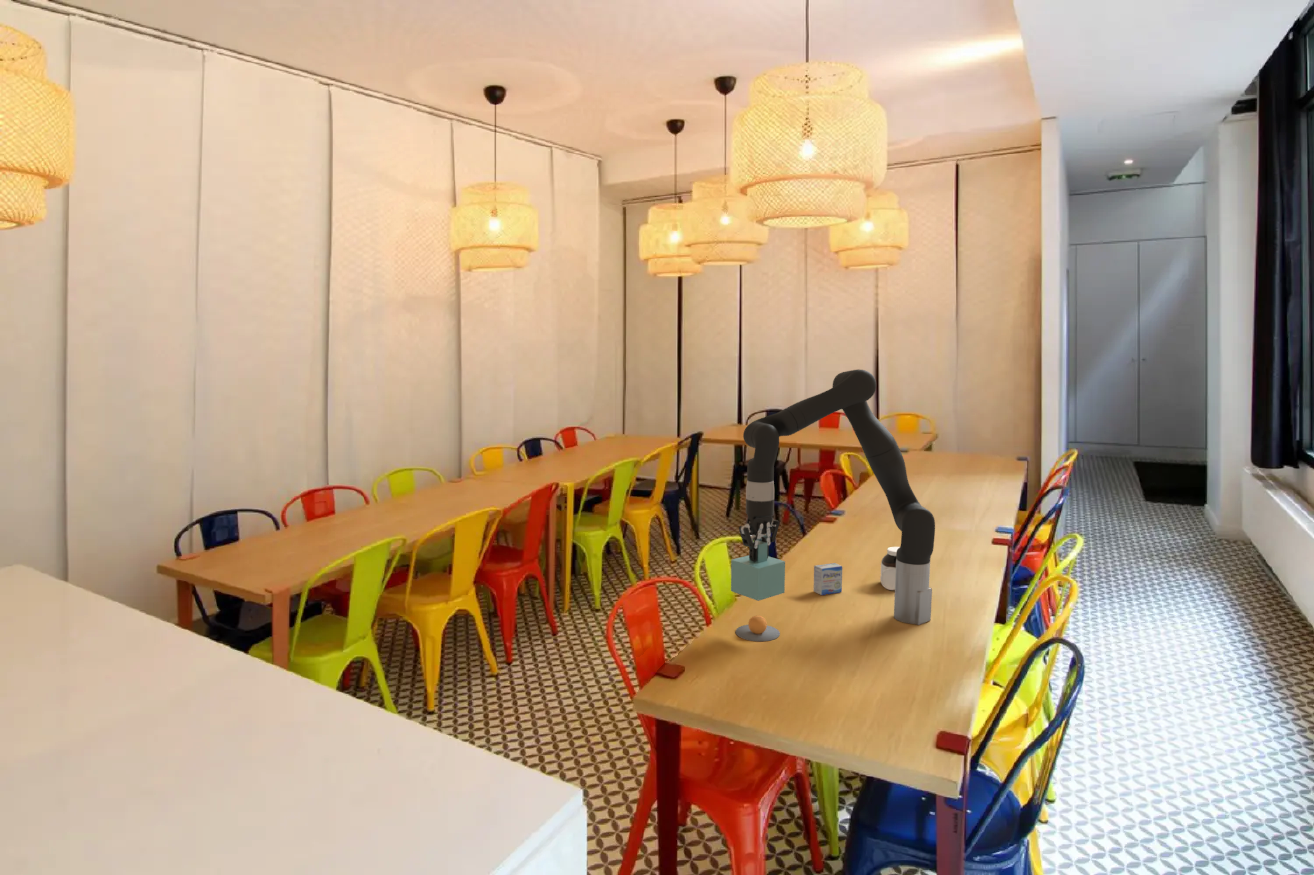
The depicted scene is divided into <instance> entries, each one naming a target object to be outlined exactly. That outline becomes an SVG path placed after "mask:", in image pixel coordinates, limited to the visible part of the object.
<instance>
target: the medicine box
mask: <svg viewBox="0 0 1314 875" xmlns="http://www.w3.org/2000/svg"><path fill="white" fill-rule="evenodd" d="M842 590H843V566H842V565H840V564H838V563H837V562H834V563H825V564H816V565H813V592H814V593H816V594H818V595H820V596H827V595H826V594H828V595H833V594H840V592H841V593H842V592H843V591H842Z"/></svg>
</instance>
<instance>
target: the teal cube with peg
mask: <svg viewBox="0 0 1314 875" xmlns="http://www.w3.org/2000/svg"><path fill="white" fill-rule="evenodd" d="M753 543H754V540H753ZM767 544H768V543H766V542H763V541H761V540H759V541H758V547H757V548H758V560H757V561H756V562H754V561H751V560H750V558H749V554H748V555H745V556H741V557H736V558H732V559H731V562H730V566H731V567H730V568H731V570H730V575H731V576H730V591H731V592H732V593H736V594H739V595H741V596H743V597H747V598H749V599H752V600H755V601H762V600H766V599H768V598H772V597H776V596H779V595H782V594H785V591H786V590H785V588H786V587H785V585H786V584H785V583H786V582H785V580H786V561H784V560H781V559H779V558H775V557H771V556H770V555H768V558H767Z"/></svg>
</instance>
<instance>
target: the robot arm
mask: <svg viewBox="0 0 1314 875" xmlns="http://www.w3.org/2000/svg"><path fill="white" fill-rule="evenodd" d="M876 390H877V381H876V378H875V376H874V375H873V374H872V373H871V372H870V371H868V370H865V369H860V368H859V369H853V370H846V371H842V372H840V373H837V375H836V376H834V379H833V381H832V387H831V388H829V389H827V390H825V391H823V392H821V393H819V394H818V393H817V394H815V395H812V396H810V397H808V398H806V399H801V400H800V401H798V402H796V403H794V404H792V405H788V407H785V408H784V409H782V410H780V411H778V412H777V413H773V414H770V415H767V416H763V417H761V418H758V419H755V420H754V421H752V422H750V423H749V424H748V425H747V426H746V427H745V429H744V430H743V432H742V433H743V434H742V435H743V436H742V437H743V441H744V443H745V444H746V445H747V446H749V447H751V448H753V449H754V454H753V458H750V459H749V460H748V462H747V467H746V468H747V469H746V475H747V476H746V477H747V478H746V487H745V514H746V515H747V520H746V524H744V525H740V526H738V530H739V535H740V538H741V542H742V544H743V546H745V547H748V550H749V551H748V555H749V558H750V560H751V561H754V562H756V561H757V560H758V548H757V547H758V541H763V542H766V543H768V544H767V558H768V556H770V553H769V552H770V545H771V543H775V541H776V537H777V534H778V531H779V528H780V527H779V526H780V523H781V522H780V520H778V519H774V518H773V517H772V516H774V514H775V484H774V483H775V482H774V477H775V473H774V472H775V467H774V466H775V463H776V459H777V455H778V452H779V446H780V437H788V436H792V435H794V434H796V433H797V432H801V431H802V430H804V429H806V428H807V427H809V426H811V425H813V424H815V423H816V422H818V421H820V420H821V419H824V418H825V417H827V416H830V415H831V414H834V413H836V412H838V411H843V413H844V415H845V417H847V420H848V421H849V423H850V425H851V428H852V430H853V432H854V434H855V436H856V438H857V441H858V442H859V445H860V446H861V449H862V451H863V453H864V456H865V458H866V460H867V462H868V464H869V467H870V468H871V471H872V473H873V474H874V476H875V478H876V480H877V481H878V482H877V483H879V486H880V487H881V489H882V492H884V494H885V497H886V499H887V502H888V505H889V508H890V510H891V515H892V517H893V520H894V523H895V525H896V527H897V528H898V530H900V531H901V537H900V538H901V540H900V546H899V547H900V548H898V549H897V553H896V576H895V590H894V600H893V602H894V604H893V618H894V619H895V620H896V621H898V622H902V623H904V624H910V625H911V624H913V625H918V626H920V625H923V624H925V623H926V622H930V621H931V618H932V601H933V600H932V599H933V598H932V597H933V596H932V595H933V589H932V587H930V578H931V577H930V576H931V575H930V574H931V559H932V558H931V557H932V555H933V553H934V546H935V535H936V534H935V533H936V521H935V516H934V515H933V513H932V512H931V511H930V510H929V509H927V508H926V507H924V505H923V506H922V504H921V503H920V502H919V500H918V498H917V497H916V495H915V493H914V491H913V489H912V488H911V486H910V482H909V480H908V474H907V467H906V463H905V459H904V456H903V454H902V452H901V450H900V447H899V445H898V443H897V441H896V439H895V436H893V435H892V432H890V431H889V429H888V428H886V426H885V425H884V424H883V423H882V422H881V421H880V420H879V419H878V418H877V417H876V416H875V414H874V412H872V410H871V408H870V406H869V404H868V402H867V401H869V400H871V398H872V397H873V396H874V394H875V393H876ZM753 541H754V543H753Z"/></svg>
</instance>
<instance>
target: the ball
mask: <svg viewBox="0 0 1314 875" xmlns="http://www.w3.org/2000/svg"><path fill="white" fill-rule="evenodd" d="M747 625H748V626H749V629H750V630H751V632H753V633H755V634H761V633H763V632H764V631H765V630H766V628H767V625H768V622H767V619H766V618H765V617H763V616H762V615H760V614H759V615H758V614H757V615H753V616H752V617H750V619H749V620H748V624H747Z"/></svg>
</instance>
